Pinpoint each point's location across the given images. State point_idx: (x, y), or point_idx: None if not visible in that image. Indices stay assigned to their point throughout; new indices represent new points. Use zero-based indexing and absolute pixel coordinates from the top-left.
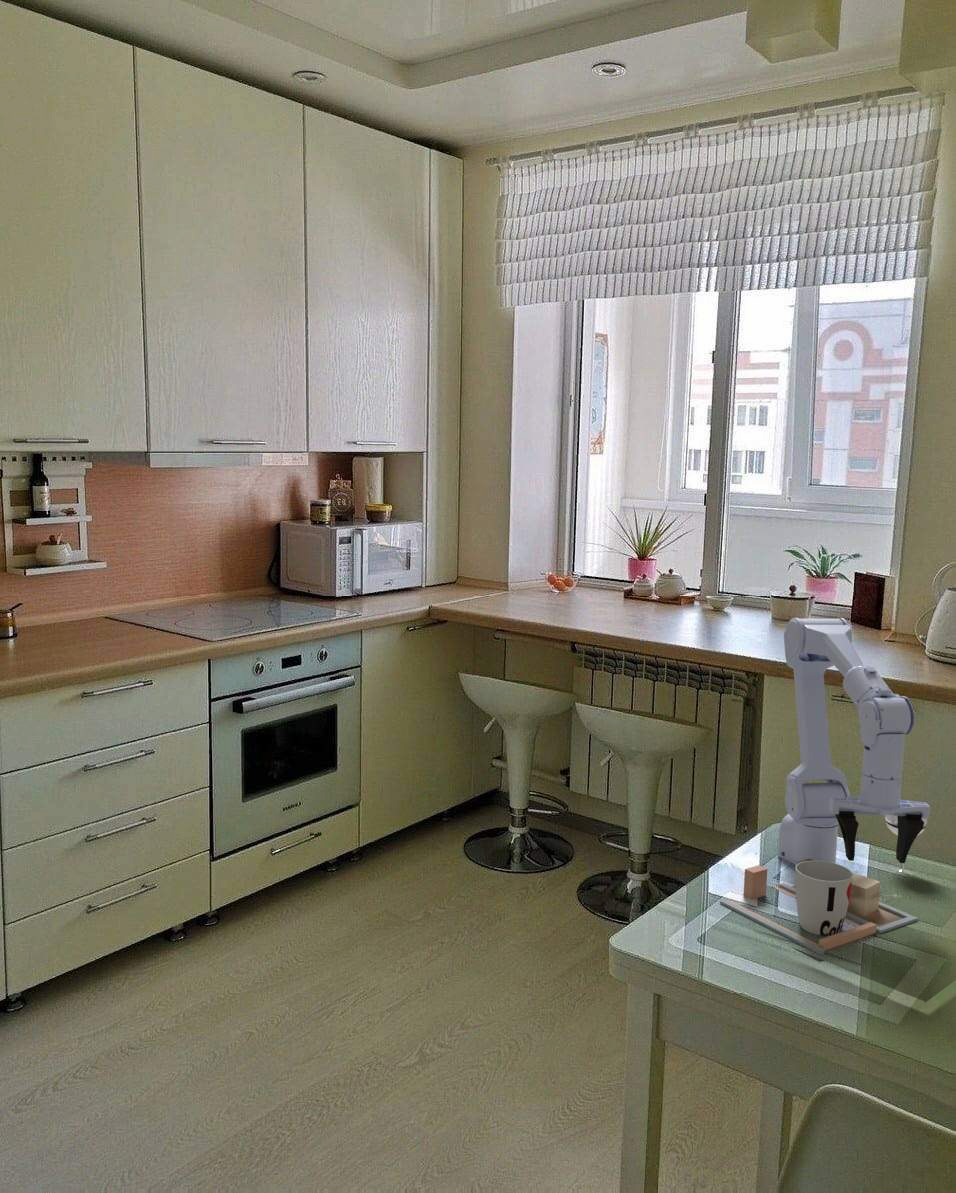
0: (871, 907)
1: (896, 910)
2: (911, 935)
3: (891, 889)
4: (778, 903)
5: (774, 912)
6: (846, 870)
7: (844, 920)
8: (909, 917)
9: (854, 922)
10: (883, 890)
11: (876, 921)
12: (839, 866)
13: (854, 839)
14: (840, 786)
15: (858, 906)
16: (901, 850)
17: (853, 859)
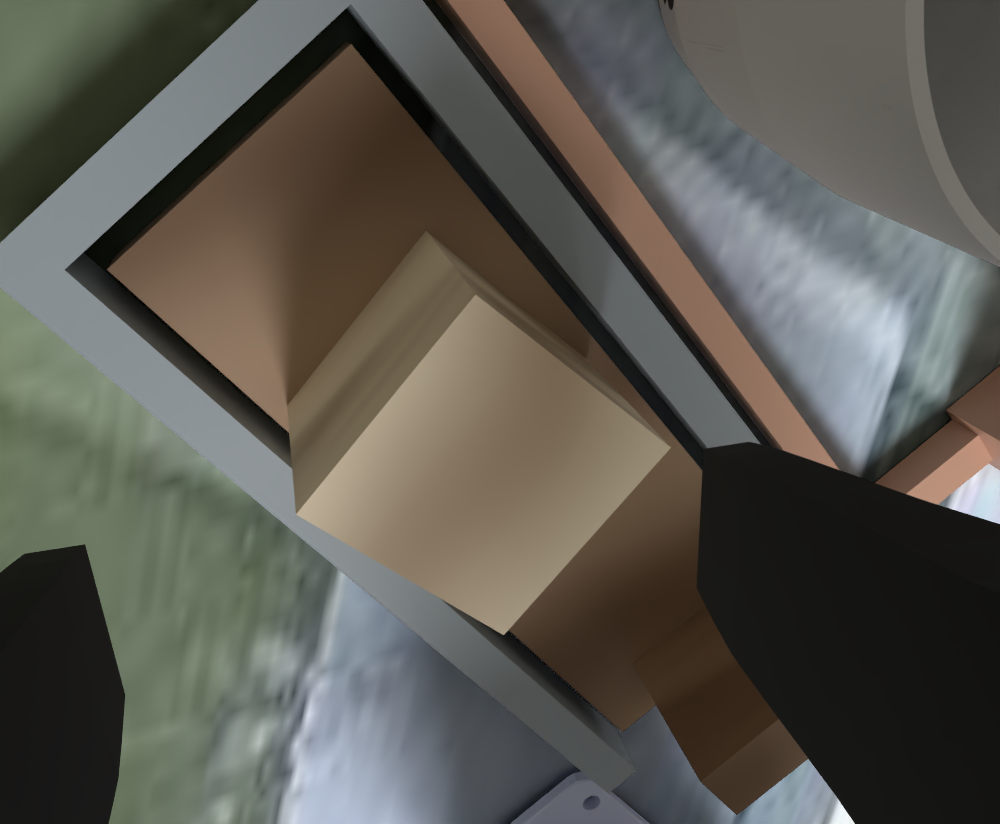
0: (361, 333)
1: (149, 376)
2: (60, 87)
3: (121, 821)
4: (876, 416)
5: (943, 278)
6: (915, 70)
7: (592, 127)
8: (51, 256)
9: (524, 104)
10: (178, 790)
11: (343, 161)
12: (958, 186)
13: (938, 555)
14: None
15: (480, 279)
16: (43, 684)
17: (720, 448)
